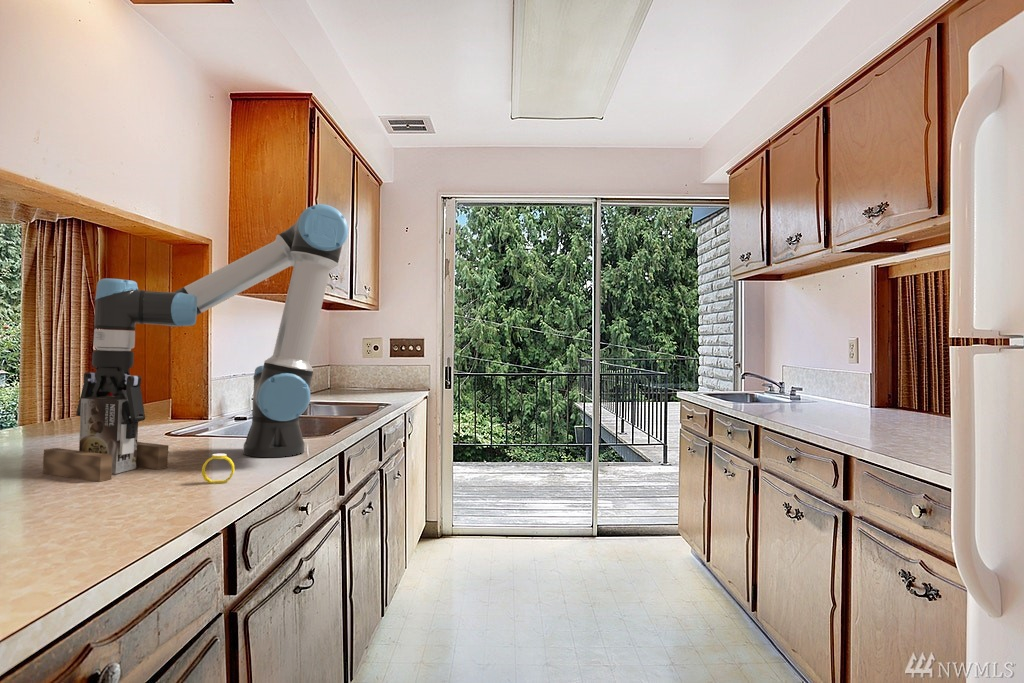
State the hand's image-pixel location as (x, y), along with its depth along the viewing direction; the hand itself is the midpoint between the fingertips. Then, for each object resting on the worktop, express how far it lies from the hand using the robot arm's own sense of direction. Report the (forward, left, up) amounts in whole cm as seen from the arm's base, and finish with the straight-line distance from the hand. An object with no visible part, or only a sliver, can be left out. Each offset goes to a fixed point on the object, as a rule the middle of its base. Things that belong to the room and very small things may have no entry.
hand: (108, 451), depth 128 cm
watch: (-28, -2, -4) cm, 28 cm away
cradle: (0, 0, -4) cm, 4 cm away
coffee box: (0, 0, -4) cm, 4 cm away
